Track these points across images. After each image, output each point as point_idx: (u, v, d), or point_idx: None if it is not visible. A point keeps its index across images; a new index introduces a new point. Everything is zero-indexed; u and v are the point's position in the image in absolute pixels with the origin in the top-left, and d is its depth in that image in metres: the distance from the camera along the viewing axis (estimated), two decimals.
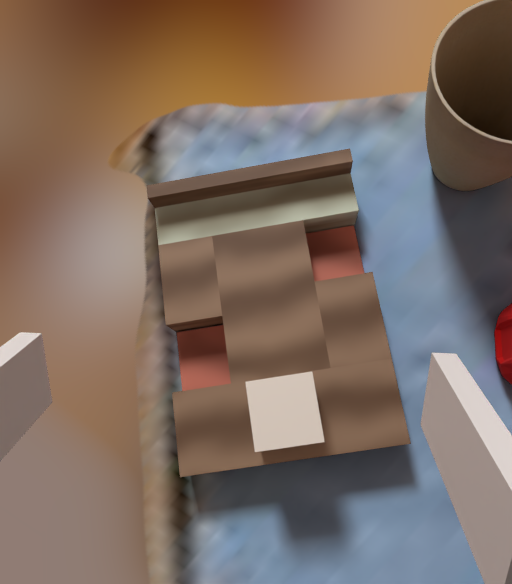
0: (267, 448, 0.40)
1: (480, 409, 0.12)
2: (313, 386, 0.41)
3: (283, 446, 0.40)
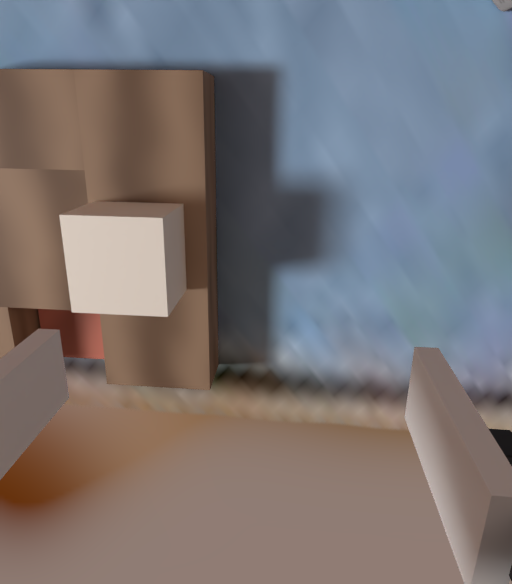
0: (164, 299, 0.28)
1: (457, 400, 0.12)
2: (81, 217, 0.27)
3: (163, 277, 0.28)
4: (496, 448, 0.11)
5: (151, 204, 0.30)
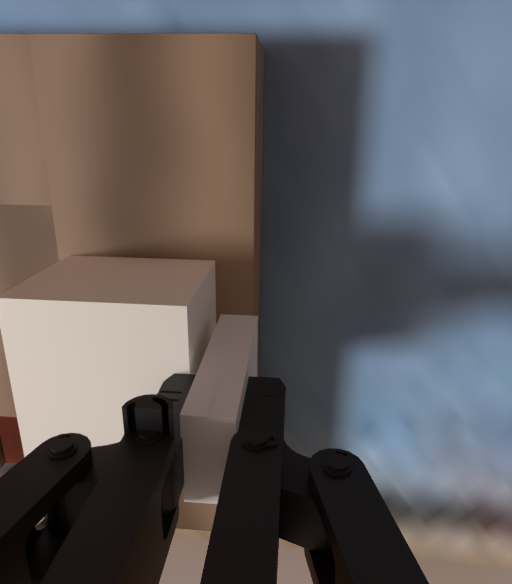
0: None
1: (238, 353, 0.15)
2: (35, 303, 0.14)
3: None
4: (239, 386, 0.13)
5: (162, 263, 0.18)
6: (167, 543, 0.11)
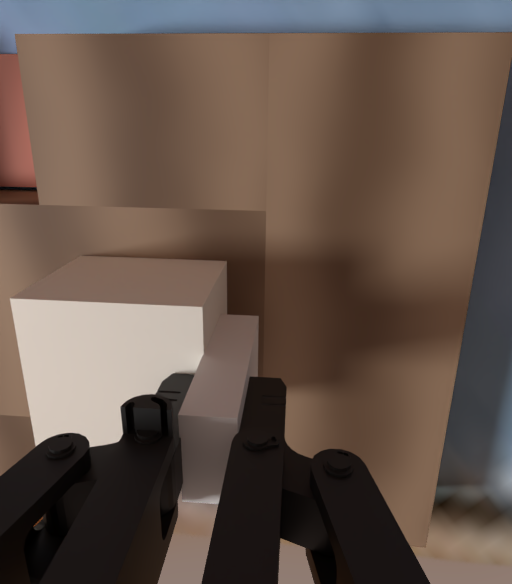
0: None
1: (239, 353, 0.15)
2: (51, 303, 0.14)
3: None
4: (240, 386, 0.13)
5: (174, 264, 0.18)
6: (166, 543, 0.11)
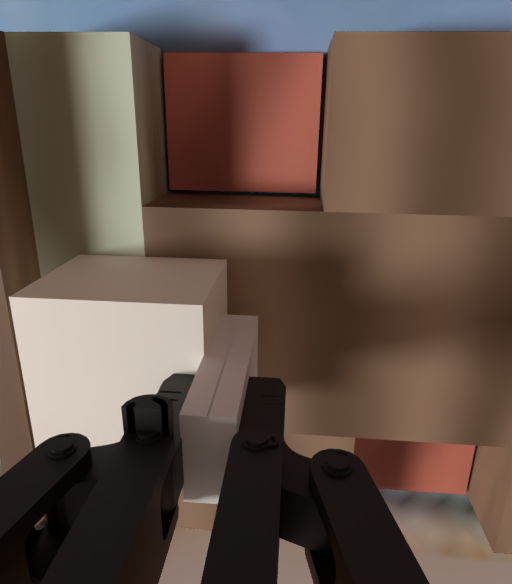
0: None
1: (239, 353, 0.15)
2: (50, 302, 0.14)
3: None
4: (240, 386, 0.13)
5: (174, 262, 0.18)
6: (167, 543, 0.11)
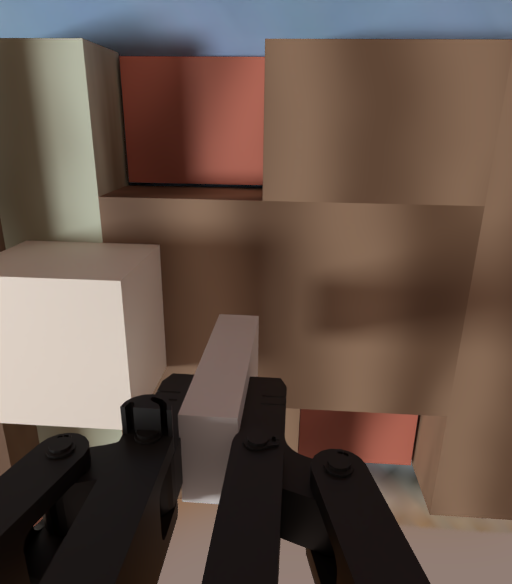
0: None
1: (239, 353, 0.15)
2: None
3: (125, 372, 0.17)
4: (240, 386, 0.13)
5: (110, 247, 0.20)
6: (166, 543, 0.11)
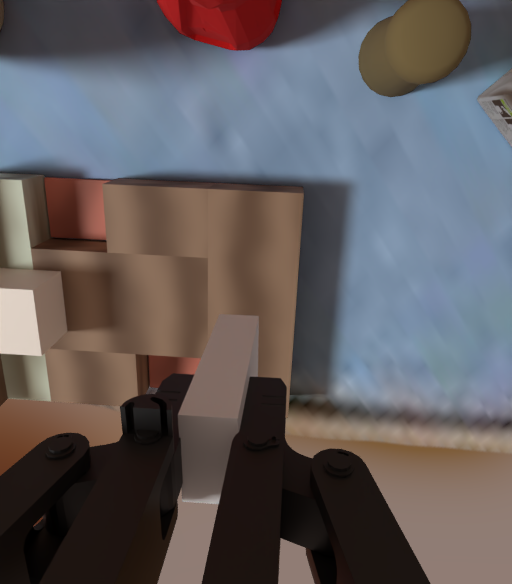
0: (38, 344, 0.40)
1: (239, 353, 0.15)
2: None
3: (36, 329, 0.39)
4: (241, 386, 0.13)
5: (36, 272, 0.42)
6: (166, 543, 0.11)
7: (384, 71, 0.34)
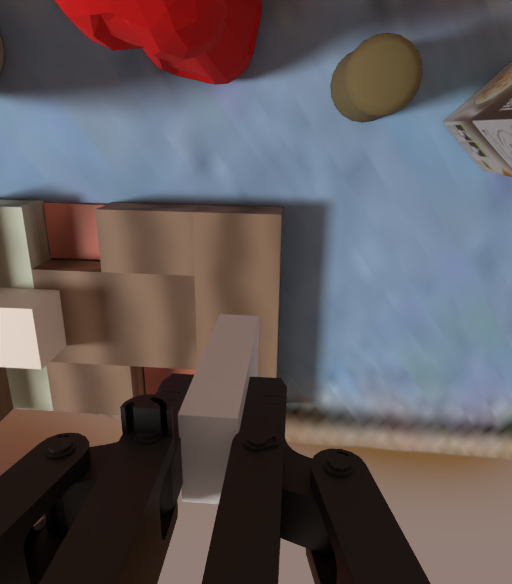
0: (38, 358, 0.43)
1: (239, 353, 0.15)
2: None
3: (36, 345, 0.42)
4: (241, 386, 0.13)
5: (36, 291, 0.45)
6: (166, 543, 0.11)
7: (350, 102, 0.37)
